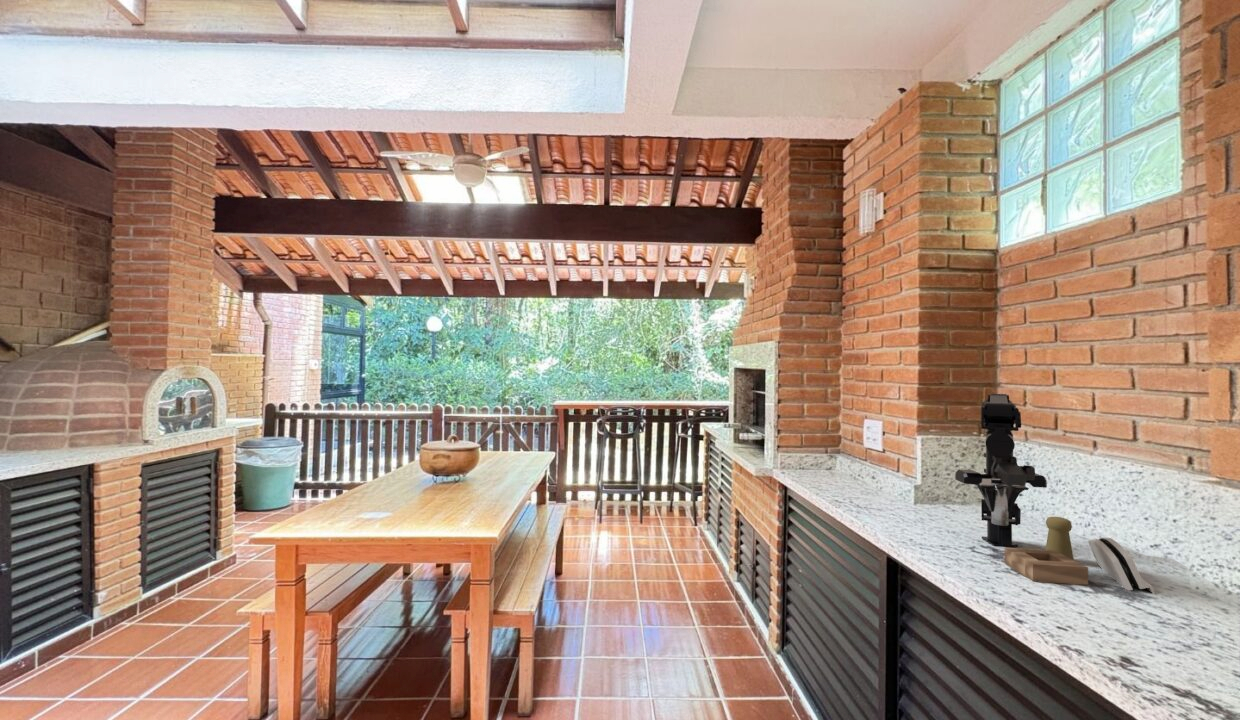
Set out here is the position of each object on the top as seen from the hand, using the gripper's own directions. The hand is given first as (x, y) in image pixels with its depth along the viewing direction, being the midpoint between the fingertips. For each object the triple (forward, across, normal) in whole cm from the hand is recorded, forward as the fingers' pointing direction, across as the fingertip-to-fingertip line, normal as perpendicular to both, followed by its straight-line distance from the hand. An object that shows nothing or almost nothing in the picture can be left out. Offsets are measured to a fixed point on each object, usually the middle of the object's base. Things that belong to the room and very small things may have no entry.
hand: (999, 511), depth 134 cm
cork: (+13, +16, +6) cm, 22 cm away
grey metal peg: (+3, 0, 0) cm, 3 cm away
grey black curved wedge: (+14, +23, -5) cm, 27 cm away
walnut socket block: (+13, +7, -6) cm, 16 cm away
